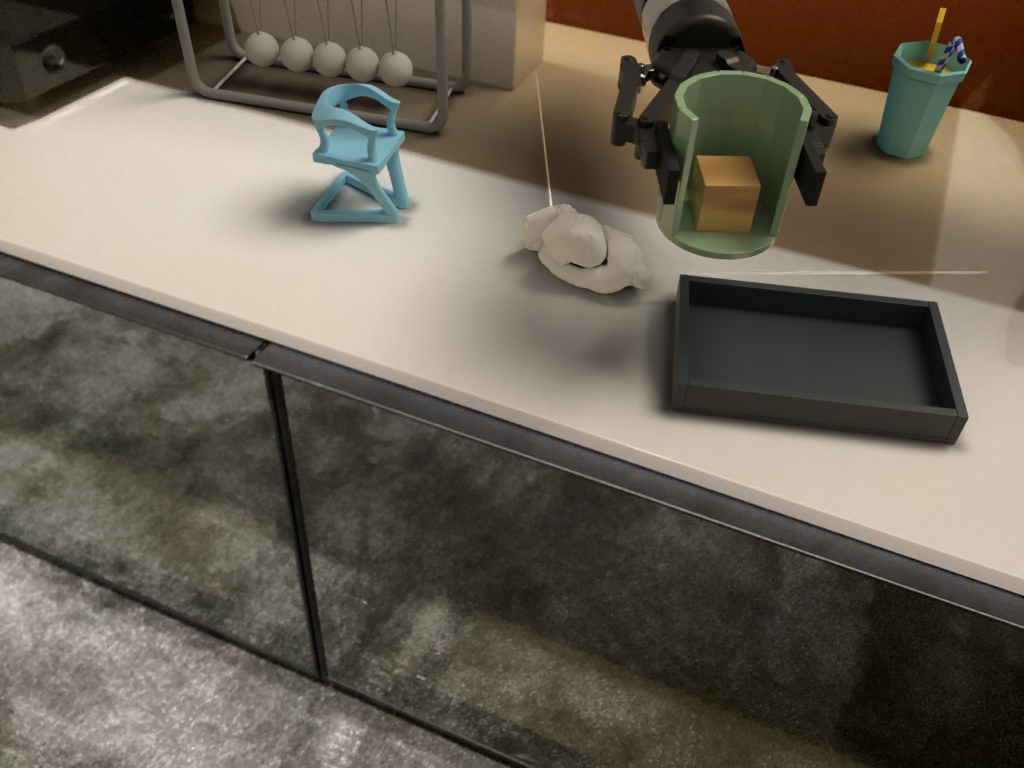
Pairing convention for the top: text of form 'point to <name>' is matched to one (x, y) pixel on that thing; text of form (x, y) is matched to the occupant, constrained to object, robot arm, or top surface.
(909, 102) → the cup
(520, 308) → the top surface
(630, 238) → the baby figurine
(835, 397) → the tray
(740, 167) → the block
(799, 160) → the robot arm
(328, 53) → the newton's cradle
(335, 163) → the chair
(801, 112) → the pouring cup
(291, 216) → the top surface
